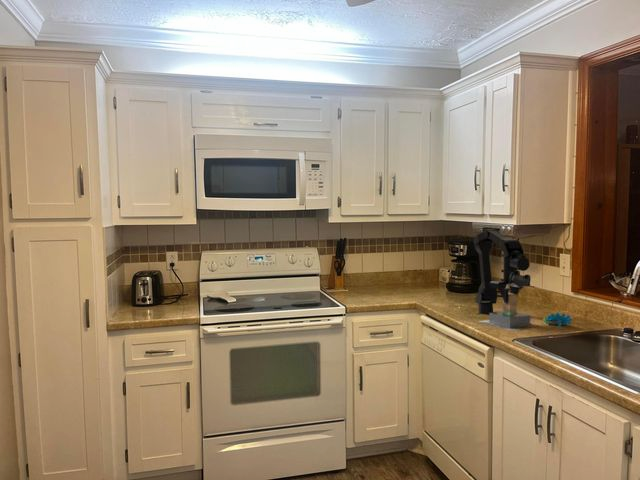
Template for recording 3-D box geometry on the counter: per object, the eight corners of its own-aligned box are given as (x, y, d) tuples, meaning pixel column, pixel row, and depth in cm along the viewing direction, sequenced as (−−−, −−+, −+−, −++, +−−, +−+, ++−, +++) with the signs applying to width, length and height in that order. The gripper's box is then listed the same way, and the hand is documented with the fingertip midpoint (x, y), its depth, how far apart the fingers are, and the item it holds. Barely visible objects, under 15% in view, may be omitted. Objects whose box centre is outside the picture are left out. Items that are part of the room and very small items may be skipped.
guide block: (489, 322, 216) (489, 312, 216) (509, 319, 221) (509, 309, 221) (509, 328, 205) (510, 317, 205) (530, 325, 210) (530, 314, 210)
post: (502, 314, 214) (502, 293, 213) (509, 313, 216) (509, 292, 215) (509, 316, 210) (510, 295, 210) (516, 315, 212) (517, 294, 211)
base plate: (477, 323, 219) (477, 321, 219) (507, 319, 226) (507, 317, 226) (511, 334, 201) (511, 331, 200) (542, 329, 208) (542, 326, 208)
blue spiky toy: (572, 323, 211) (570, 310, 205) (573, 335, 207) (571, 322, 201) (545, 324, 216) (542, 311, 210) (545, 335, 213) (542, 323, 206)
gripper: (508, 271, 200) (508, 308, 201) (540, 268, 208) (539, 304, 209) (489, 268, 211) (488, 303, 212) (520, 265, 218) (519, 299, 219)
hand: (509, 302), depth 213 cm, fingers closed on post, 4 cm apart
